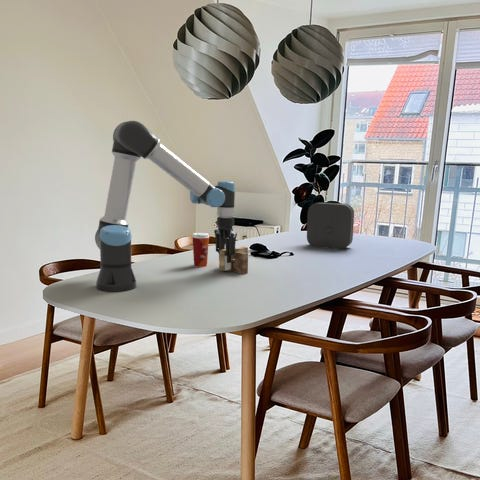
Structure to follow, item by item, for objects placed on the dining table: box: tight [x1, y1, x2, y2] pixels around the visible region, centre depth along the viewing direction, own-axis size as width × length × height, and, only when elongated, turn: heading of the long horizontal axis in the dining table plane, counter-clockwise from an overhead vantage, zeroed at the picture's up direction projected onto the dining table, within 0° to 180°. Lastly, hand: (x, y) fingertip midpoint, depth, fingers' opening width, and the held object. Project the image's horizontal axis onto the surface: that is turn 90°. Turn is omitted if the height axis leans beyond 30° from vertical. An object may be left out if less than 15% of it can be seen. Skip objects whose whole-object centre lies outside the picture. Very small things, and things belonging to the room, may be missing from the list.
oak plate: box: [218, 246, 249, 272], centre depth 242 cm, size 14×3×9 cm, turn 130°
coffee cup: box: [191, 232, 210, 268], centre depth 250 cm, size 8×8×15 cm
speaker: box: [306, 202, 355, 250], centre depth 305 cm, size 25×9×25 cm, turn 67°
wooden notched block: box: [225, 247, 249, 275], centre depth 242 cm, size 16×3×9 cm, turn 40°
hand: (224, 268), depth 239 cm, fingers closed on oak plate, 3 cm apart
